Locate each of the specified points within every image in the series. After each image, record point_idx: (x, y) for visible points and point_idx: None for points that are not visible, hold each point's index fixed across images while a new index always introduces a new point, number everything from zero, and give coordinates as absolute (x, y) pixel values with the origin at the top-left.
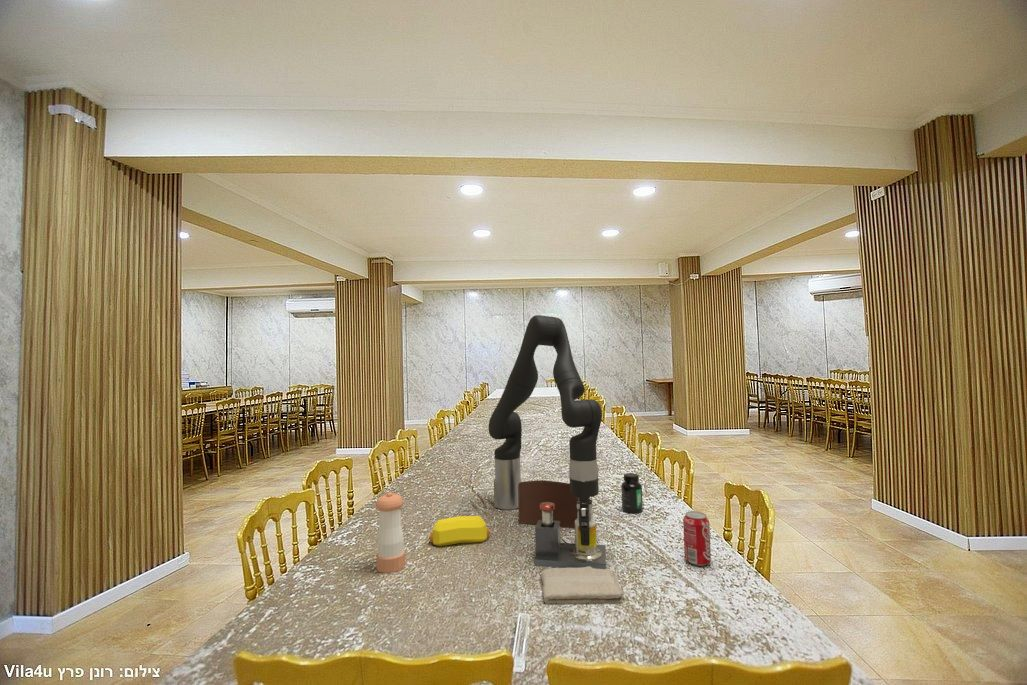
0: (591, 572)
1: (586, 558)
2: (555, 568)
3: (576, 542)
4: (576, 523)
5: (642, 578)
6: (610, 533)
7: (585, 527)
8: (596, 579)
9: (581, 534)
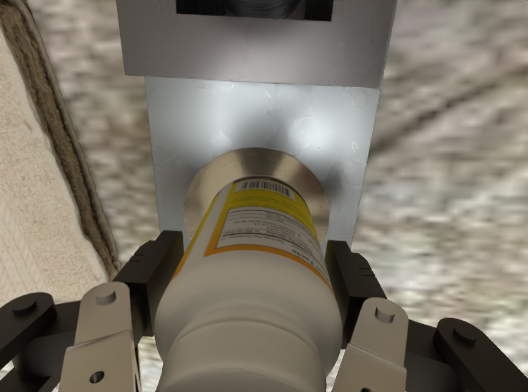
0: (35, 239)
1: (191, 218)
2: (18, 70)
3: (224, 198)
4: (190, 275)
5: (143, 358)
6: (509, 307)
7: (15, 363)
8: (4, 252)
9: (138, 269)
